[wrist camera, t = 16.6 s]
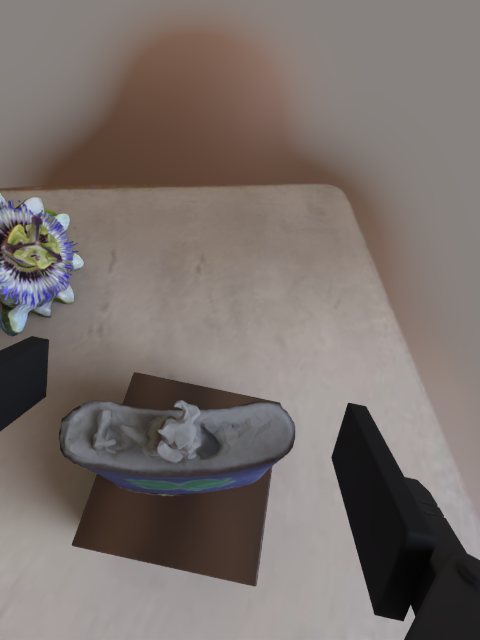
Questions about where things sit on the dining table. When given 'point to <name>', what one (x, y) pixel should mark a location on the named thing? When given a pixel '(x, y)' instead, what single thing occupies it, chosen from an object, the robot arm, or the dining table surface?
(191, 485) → the flask
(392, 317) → the dining table surface
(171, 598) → the dining table surface
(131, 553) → the walnut block
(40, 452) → the dining table surface
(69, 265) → the passion flower
